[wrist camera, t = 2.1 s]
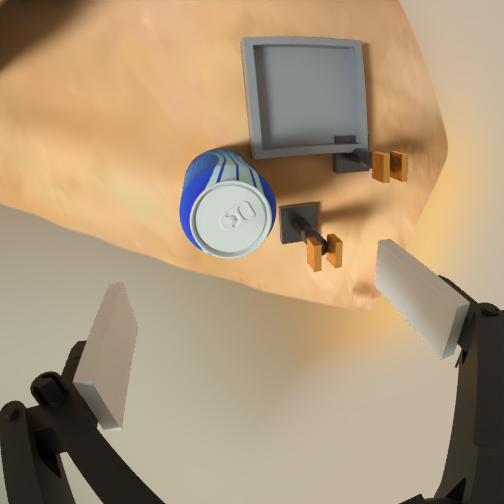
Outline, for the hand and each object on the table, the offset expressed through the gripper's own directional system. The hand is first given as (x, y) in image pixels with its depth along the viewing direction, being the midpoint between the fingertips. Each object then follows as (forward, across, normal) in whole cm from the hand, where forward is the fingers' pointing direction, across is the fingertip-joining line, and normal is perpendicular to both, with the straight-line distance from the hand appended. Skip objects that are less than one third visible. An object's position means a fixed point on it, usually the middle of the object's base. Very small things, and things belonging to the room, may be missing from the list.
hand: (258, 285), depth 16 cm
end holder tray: (+27, +12, +10) cm, 31 cm away
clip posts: (+27, +14, -3) cm, 30 cm away
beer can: (+27, 0, 0) cm, 27 cm away
